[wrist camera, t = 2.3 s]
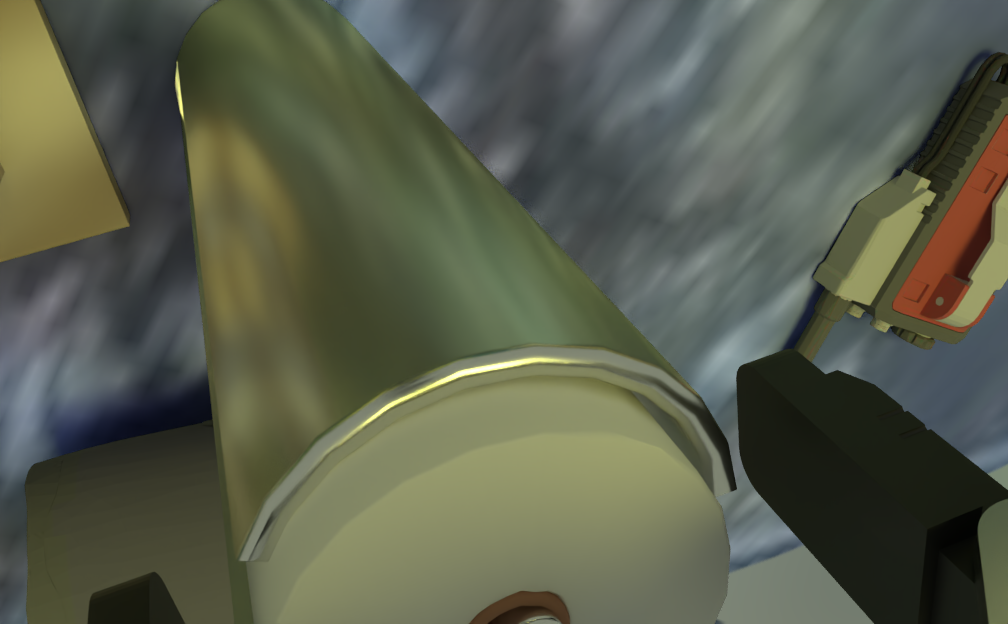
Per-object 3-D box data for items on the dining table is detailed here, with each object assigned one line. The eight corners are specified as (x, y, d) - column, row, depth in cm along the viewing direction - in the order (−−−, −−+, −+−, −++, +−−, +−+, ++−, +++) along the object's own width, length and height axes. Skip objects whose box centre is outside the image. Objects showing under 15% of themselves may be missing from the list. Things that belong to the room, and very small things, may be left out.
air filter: (311, 207, 34) (577, 860, 13) (138, 118, 30) (118, 804, 9) (406, 53, 32) (882, 508, 11) (236, -58, 29) (467, 294, 8)
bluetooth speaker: (87, 577, 38) (70, 794, 29) (36, 385, 33) (-1, 577, 25) (597, 472, 44) (701, 625, 36) (611, 300, 40) (733, 430, 32)
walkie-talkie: (946, 26, 39) (726, 414, 46) (1028, 48, 36) (777, 467, 42) (1066, 93, 43) (849, 441, 50) (1151, 119, 40) (905, 492, 46)
